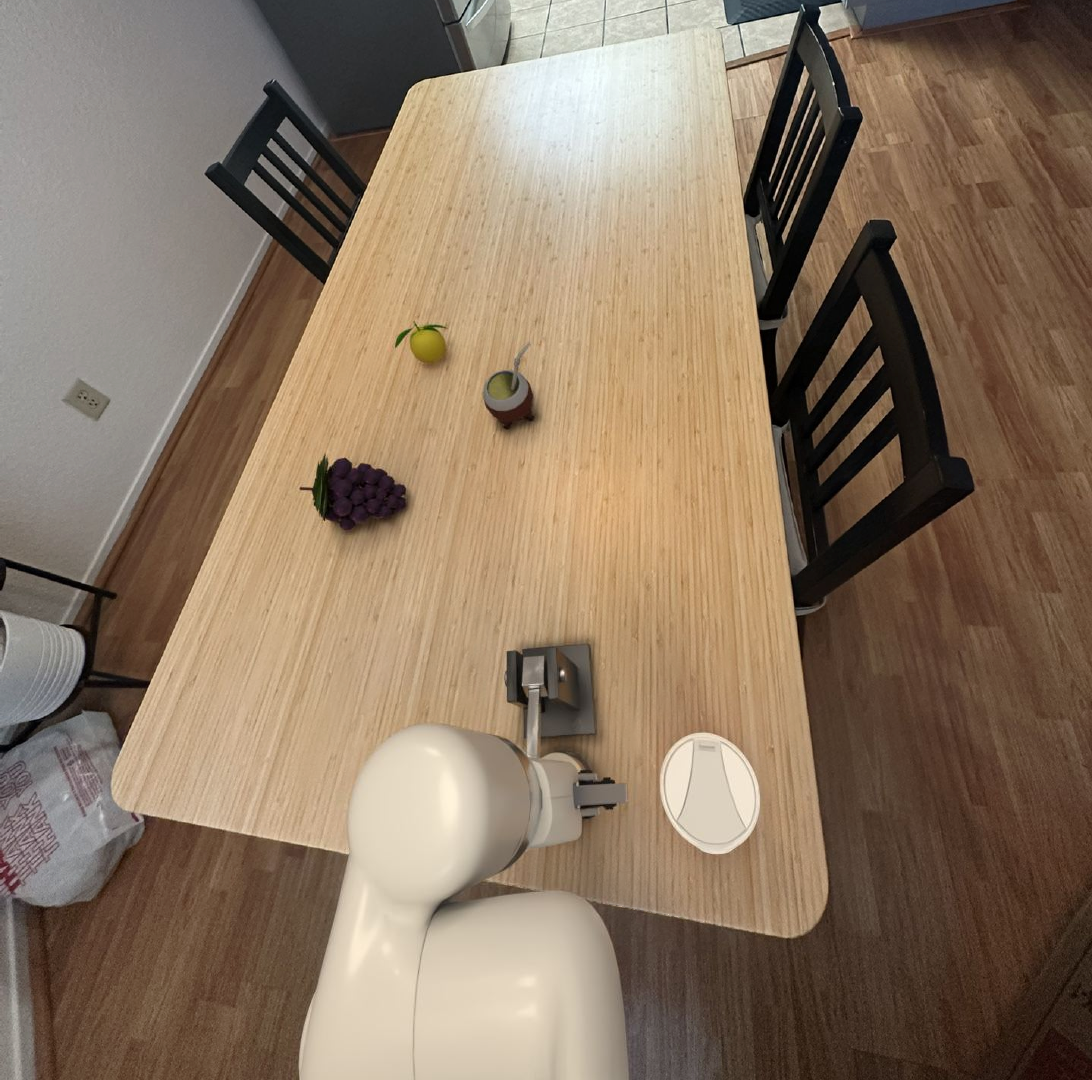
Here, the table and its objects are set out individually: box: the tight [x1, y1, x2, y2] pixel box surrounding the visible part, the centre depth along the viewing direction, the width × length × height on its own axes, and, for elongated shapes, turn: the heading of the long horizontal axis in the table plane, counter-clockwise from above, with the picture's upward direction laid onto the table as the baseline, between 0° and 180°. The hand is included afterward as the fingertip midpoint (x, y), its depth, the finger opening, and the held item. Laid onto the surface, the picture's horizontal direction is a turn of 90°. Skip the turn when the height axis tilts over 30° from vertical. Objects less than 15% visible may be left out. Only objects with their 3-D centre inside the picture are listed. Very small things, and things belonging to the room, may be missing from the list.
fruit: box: [299, 452, 407, 532], centre depth 85 cm, size 10×11×15 cm
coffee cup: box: [659, 732, 761, 855], centre depth 57 cm, size 8×8×15 cm
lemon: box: [394, 320, 449, 364], centre depth 97 cm, size 7×6×10 cm
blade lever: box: [522, 656, 548, 759], centre depth 56 cm, size 12×5×2 cm, turn 3°
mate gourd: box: [482, 341, 535, 431], centre depth 86 cm, size 8×8×15 cm
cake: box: [540, 750, 590, 808], centre depth 64 cm, size 6×6×4 cm
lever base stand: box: [503, 643, 598, 740], centre depth 65 cm, size 9×8×15 cm
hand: (535, 795), depth 53 cm, fingers open, 9 cm apart
